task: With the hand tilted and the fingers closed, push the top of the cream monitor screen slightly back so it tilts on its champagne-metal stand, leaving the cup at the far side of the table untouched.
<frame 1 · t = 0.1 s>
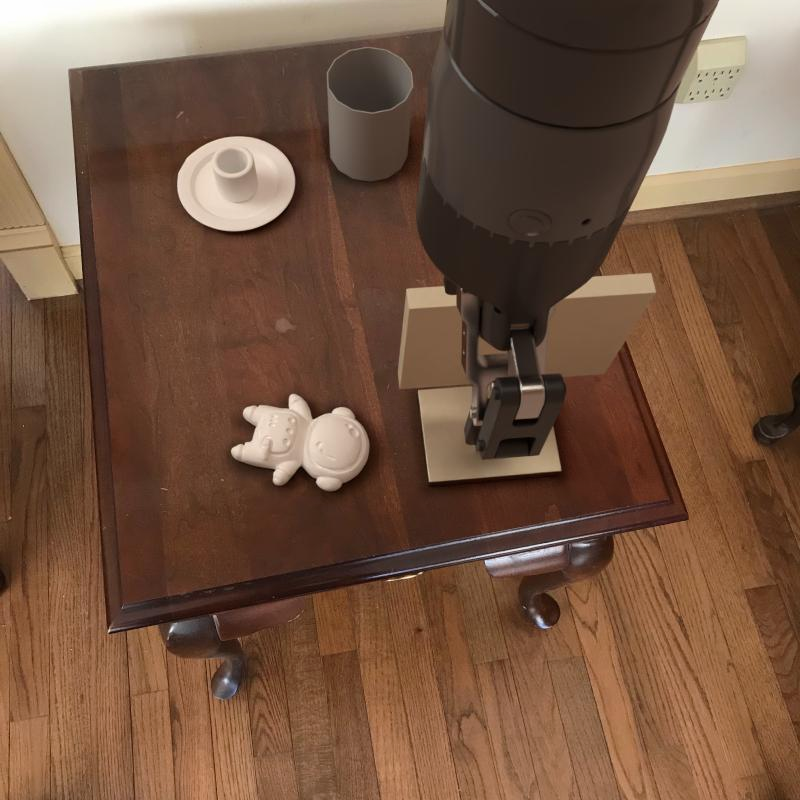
hand: (474, 360, 43), 33 cm above the table, tool pointing down, fingers open, 8 cm apart
monitor stand: (484, 419, 77), on the table
candle holder: (237, 188, 87), on the table
monitor screen: (515, 334, 62), point 17 cm above the table, hinge at 0.0°
cup: (368, 150, 89), on the table
astronaut figurine: (301, 444, 76), on the table
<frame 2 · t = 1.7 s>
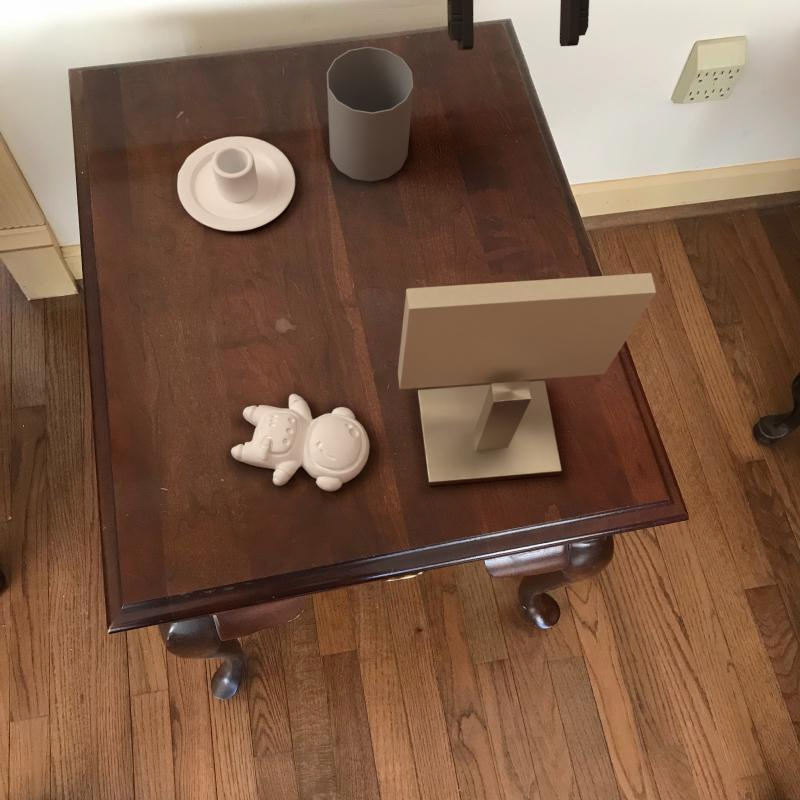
hand: (517, 46, 55), 30 cm above the table, tool tilted 45°, fingers open, 6 cm apart
nothing on the table moved.
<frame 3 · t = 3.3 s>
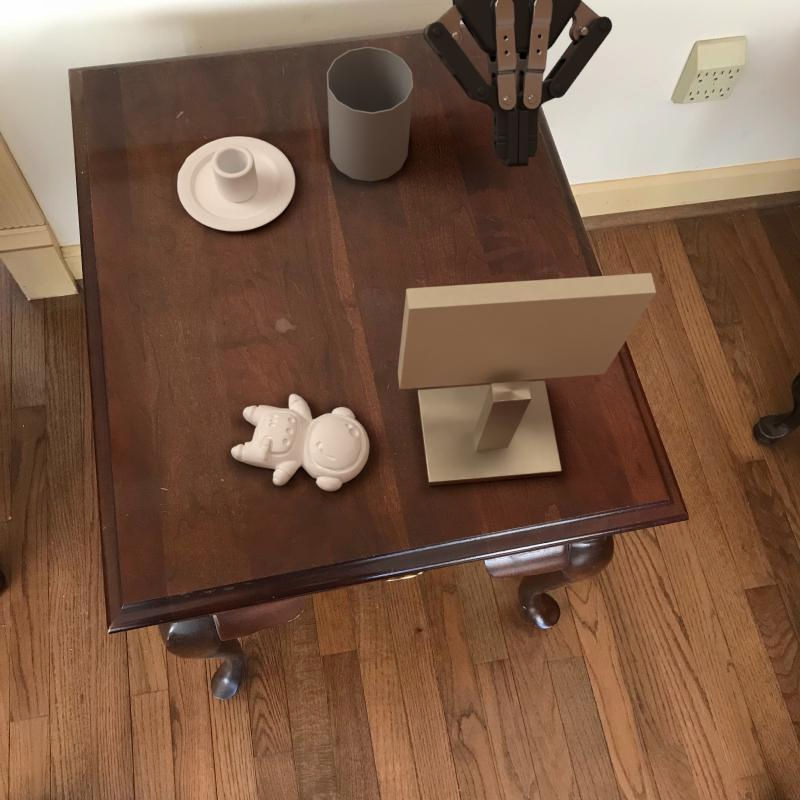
hand: (515, 165, 59), 24 cm above the table, tool tilted 45°, fingers closed
nothing on the table moved.
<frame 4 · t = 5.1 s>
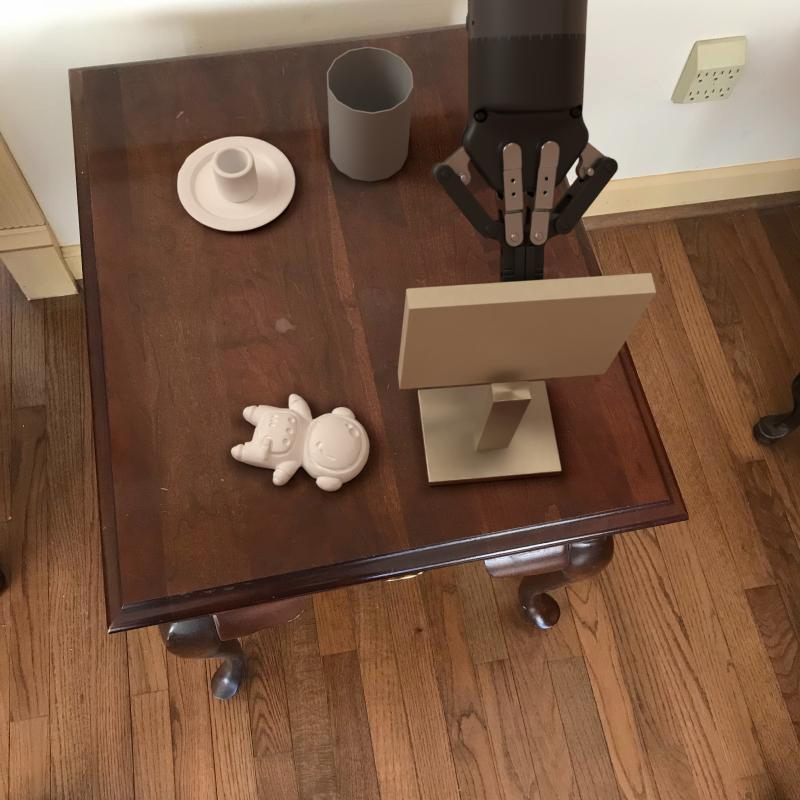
hand: (521, 294, 60), 20 cm above the table, tool tilted 45°, fingers closed
monitor screen: (515, 334, 62), point 17 cm above the table, hinge at 0.0°, touching gripper
everything else where it was.
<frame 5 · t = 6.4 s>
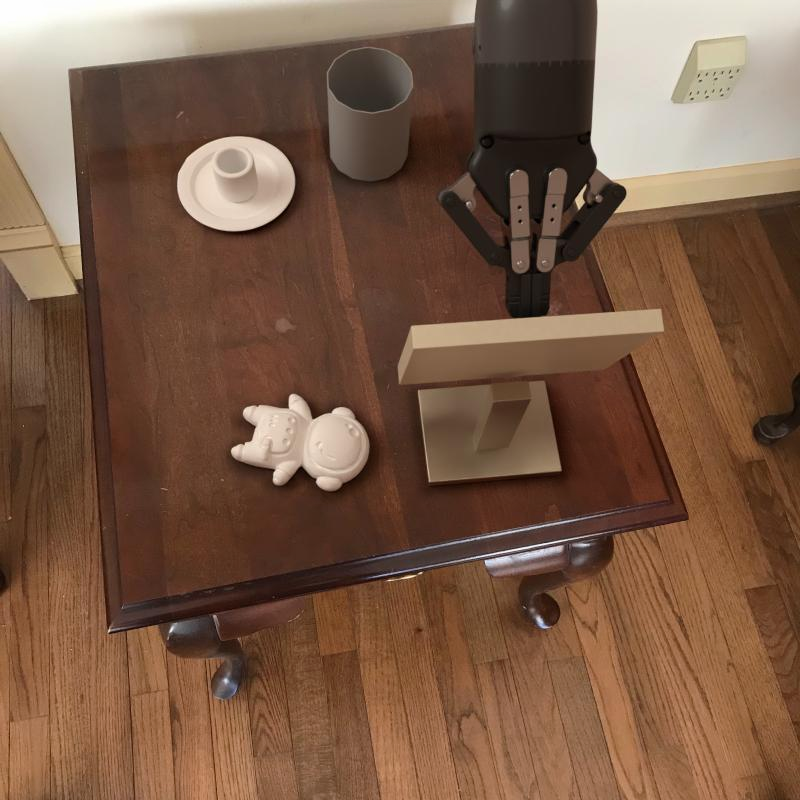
hand: (527, 321, 59), 20 cm above the table, tool tilted 45°, fingers closed
monitor screen: (518, 349, 62), point 17 cm above the table, hinge at 14.3°, touching gripper
everything else where it was.
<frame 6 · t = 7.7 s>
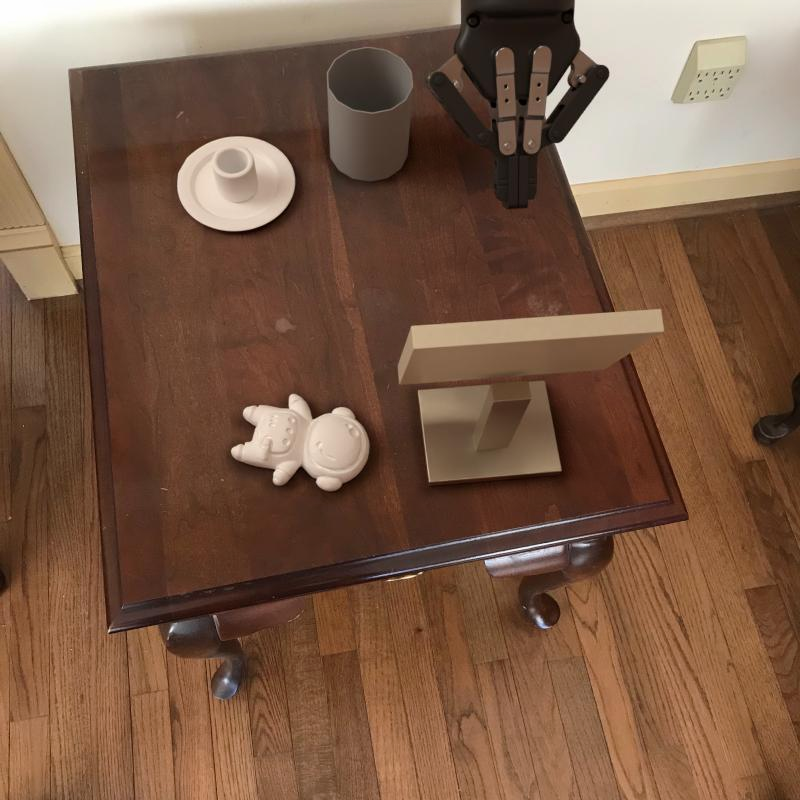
hand: (515, 207, 60), 22 cm above the table, tool tilted 45°, fingers closed
monitor screen: (518, 349, 62), point 17 cm above the table, hinge at 14.4°
everything else where it was.
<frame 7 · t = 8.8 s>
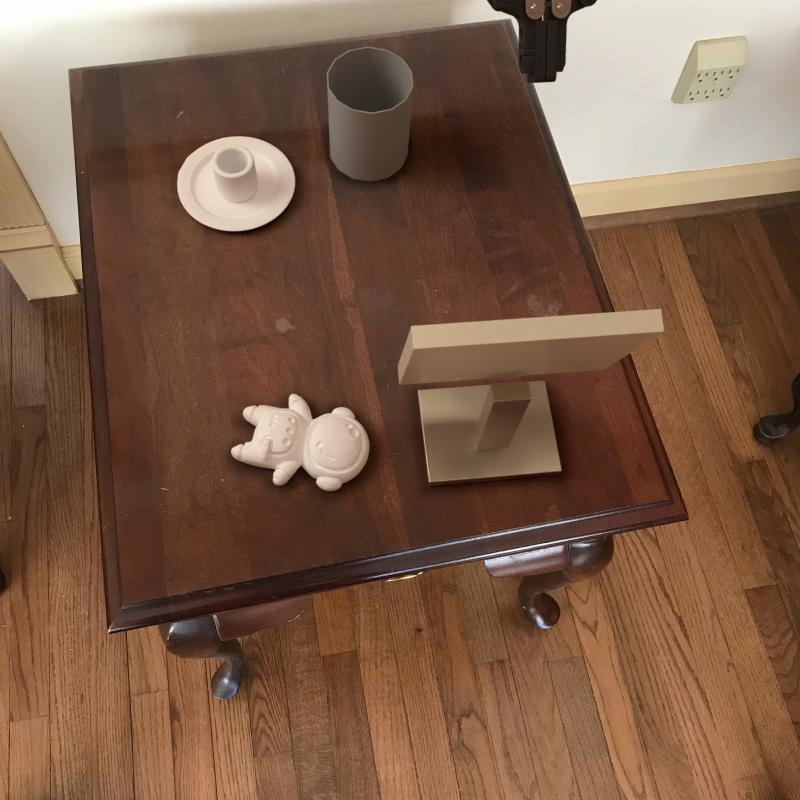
hand: (541, 81, 56), 29 cm above the table, tool tilted 45°, fingers closed
nothing on the table moved.
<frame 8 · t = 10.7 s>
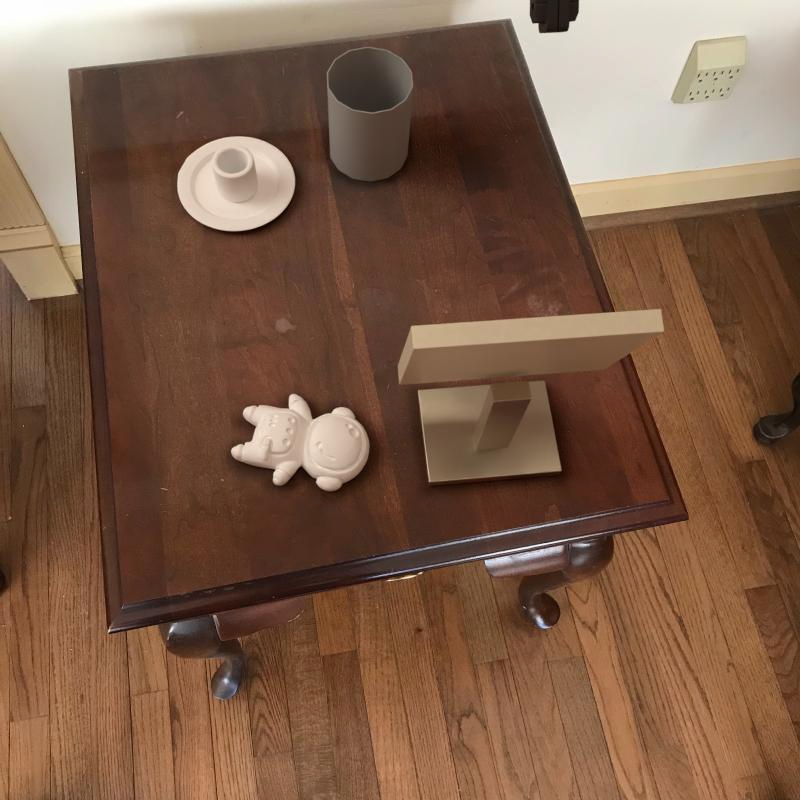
hand: (553, 31, 54), 32 cm above the table, tool tilted 45°, fingers closed
nothing on the table moved.
at the end: monitor screen at +14° (first picture: +0°); cup moved 0.2 cm from its start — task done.
